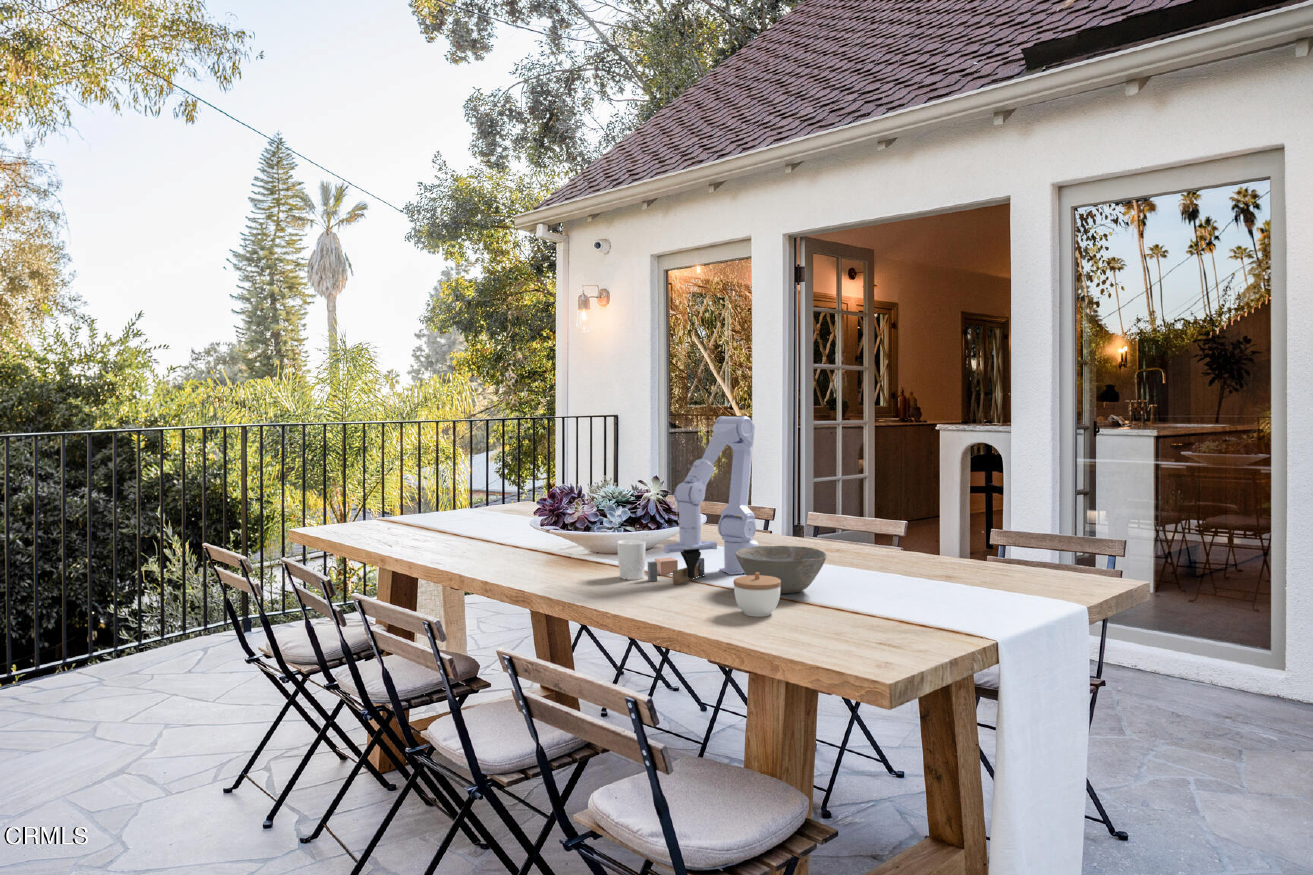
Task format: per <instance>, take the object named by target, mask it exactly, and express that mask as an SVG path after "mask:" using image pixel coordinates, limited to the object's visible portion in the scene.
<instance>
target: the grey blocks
mask: <svg viewBox="0 0 1313 875" xmlns="http://www.w3.org/2000/svg"><path fill="white" fill-rule="evenodd" d="M696 565H698V576H703V575H704V576H705V558H704V557H700V558H699V560H698V562H697V564H696ZM658 576H659V570H657V562H655V560H654V561H647V581H649V582H658Z"/></svg>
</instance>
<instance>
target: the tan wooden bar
mask: <svg viewBox="0 0 1313 875" xmlns="http://www.w3.org/2000/svg"><path fill="white" fill-rule="evenodd" d="M694 573H695V576H694V578H696V577H698V565H696V567H695V571H694ZM698 578H699V577H698ZM692 579H693V578H692ZM692 579H691V578H689V577H688V569H687V566H686V567H682V568H680V569H679V568H678V570H673V574H672V585H674V586H675V585H676V586H678V585H681V584H684V583H687V582H691V581H693V580H692Z"/></svg>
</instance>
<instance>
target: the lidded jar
mask: <svg viewBox="0 0 1313 875" xmlns="http://www.w3.org/2000/svg"><path fill="white" fill-rule="evenodd" d="M780 585H781V580H780V579H779V578H776V577H772V576H764V575H759V573H758V572H756V573H755V575H749V576H747V575H741V576H738V577H737V576H736V577H735V578H734V579H733V588H734V591H733V592H734V597H735V602H736V605H737V607H738V608H739V609H740V610H741V611H742V612H743V614H744V616H749V617H753V618H755V617H756V618H759V617H761V618H762V617H768V616H771V615H772V612H774V610H776V608H777V606H778V604H779V602H780V597H781V594H780Z"/></svg>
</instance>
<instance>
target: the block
mask: <svg viewBox="0 0 1313 875" xmlns="http://www.w3.org/2000/svg"><path fill="white" fill-rule="evenodd" d="M654 561H655V562H657V570H659V574H660V576H667V575H666V574H670V573H673V570H679V568H678V559H676V558H674V557H671V556H670V557H658V558H655V559H654Z"/></svg>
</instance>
